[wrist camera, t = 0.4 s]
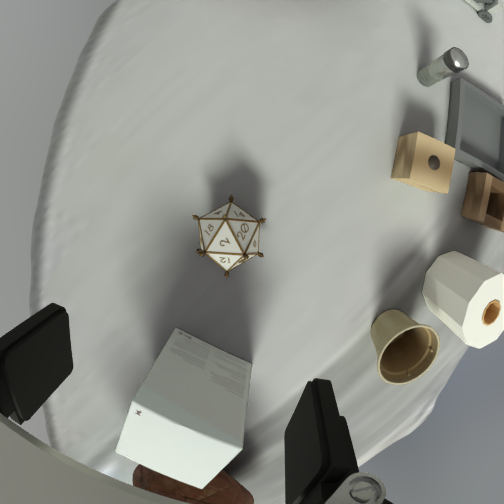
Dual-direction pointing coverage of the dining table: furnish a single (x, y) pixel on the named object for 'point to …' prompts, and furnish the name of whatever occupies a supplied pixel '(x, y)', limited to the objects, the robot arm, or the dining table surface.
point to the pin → (443, 67)
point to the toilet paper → (466, 297)
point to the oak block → (423, 162)
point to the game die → (229, 236)
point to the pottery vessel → (193, 488)
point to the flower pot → (403, 347)
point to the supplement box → (188, 411)
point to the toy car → (486, 8)
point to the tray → (476, 128)
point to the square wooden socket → (484, 200)
